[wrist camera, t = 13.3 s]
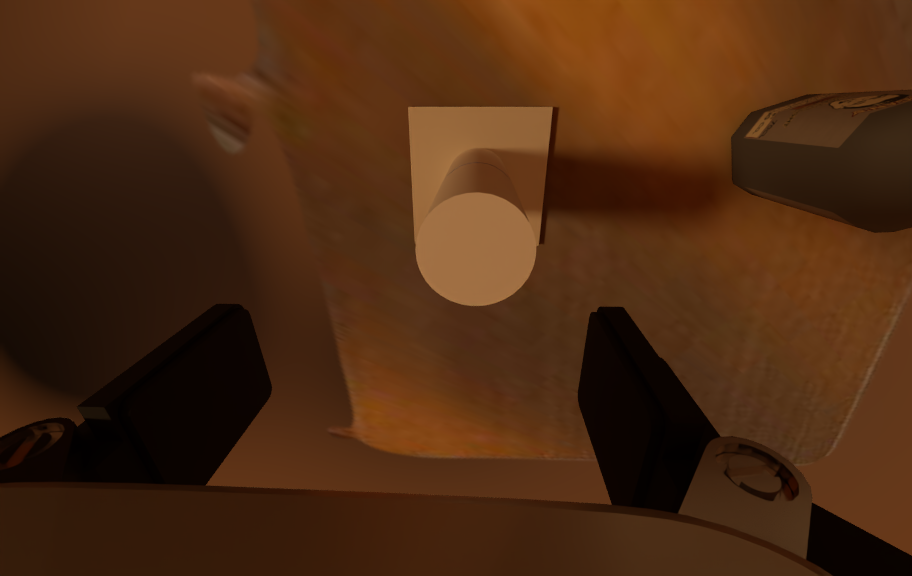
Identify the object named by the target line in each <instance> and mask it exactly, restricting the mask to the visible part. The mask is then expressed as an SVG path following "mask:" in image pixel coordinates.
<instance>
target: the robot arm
mask: <svg viewBox="0 0 912 576" xmlns="http://www.w3.org/2000/svg"><path fill="white" fill-rule="evenodd" d="M271 391H272V386H271V382H270V378H269V375H268V372H267V369H266V365H265V362H264V359H263V355H262V352H261V349H260V346H259V342H258V339H257V336H256V332H255V329H254V326H253V323H252V319H251V316H250V314H249V312H248V311H247V310H246V309H244V308H243V307H242V306H241V305H239V304H216V305H214V306H213V307H211V308H210V309H208V310H207V311H206V312H204V313H203V314H202V315H200V316H199V317H198V318H196V319H195V320H194V321H192V322H191V323H189V324H188V325H187V326H185V327H184V328H183V329H181V330H180V331H179V332H177V333H176V334H175V335H173V336H172V337H170V338H169V339H168V340H166V341H165V342H164V343H162V344H161V345H160V346H158V347H157V348H156V349H154V350H153V351H152V352H150V353H149V354H147V355H146V356H145V357H144V358H142V359H141V360H139V361H138V362H137V363H135V364H134V365H133V366H131V367H130V368H129V369H127V370H126V371H124V372H123V373H122V374H120V375H119V376H118V377H116V378H115V379H114V380H112V381H111V382H110V383H108V384H107V385H105V386H104V387H103V388H101V389H100V390H99V391H97V392H96V393H95V394H93V395H92V396H91V397H89V398H88V399H86V400H85V401H84V402H82V403H81V404H80V405H78V406H77V408H78V409H79V411H80V413H81V414H82V416H83V418H84V419H85V421H84V422H83V423H82V424H80V425H79V426H78V427H77V426H76V424H75V423H74V421H72V420H71V419H69V418H63V417H57V418H48V419H44V420H41V421H37V422H33V423H31V424H28V425H25V426H23V427H20V428H18V429H15V430H14V431H11V432H9V433H8V434H6V435H4V436H2V437H0V576H912V556H911V555H909V554H907V553H906V552H903V551H902V550H900V549H898V548H896V547H894V546H892V545H891V544H889V543H887V542H885V541H883V540H881V539H879V538H878V537H875V536H874V535H872V534H870V533H868V532H866V531H864V530H863V529H861V528H859V527H857V526H855V525H853V524H851V523H849V522H848V521H845V520H844V519H842V518H840V517H838V516H836V515H834V514H833V513H831V512H829V511H827V510H825V509H823V508H821V507H820V506H817V505H816V504H814V503H812V494H811V488H810V485H809V484H808V482H807V480H806V479H805V477H804V475H803V474H802V473H801V472H800V471H799V470H798V469H797V468H796V467H795V466H794V465H793V464H792V463H791V462H790V461H788V460H787V459H786V458H784V457H783V456H781V455H780V454H779V453H777V452H775V451H774V450H772V449H770V448H768V447H766V446H764V445H762V444H759V443H757V442H754V441H751V440H748V439H744V438H739V437H733V436H729V437H720V435H719V434H718V432H717V431H716V430H715V428H714V427H713V426H712V424H711V423H710V422H709V420H708V419H707V417H706V416H705V415H704V413H703V412H702V411H701V409H700V408H699V406H698V405H697V404H696V402H695V401H694V400H693V398H692V397H691V396H690V394H689V393H688V391H687V390H686V389H685V387H684V386H683V385H682V383H681V382H680V381H679V379H678V378H677V376H676V375H675V374H674V372H673V371H672V370H671V368H670V367H669V365H668V364H667V363H666V362H665V361H664V360H663V359H662V358H660V357H659V356H658V355H657V353H656V352H655V351H654V349H653V348H652V346H651V345H650V344H649V342H648V341H647V339H646V338H645V337H644V335H643V334H642V332H641V331H640V330H639V328H638V327H637V326H636V324H635V323H634V321H633V320H632V319H631V317H630V316H629V314H628V313H627V312H626V310H625V309H624V308H623V307H599V308H598V310H597V312H591V314H590V317H589V323H588V330H587V336H586V343H585V349H584V356H583V362H582V369H581V375H580V382H579V389H578V402H579V407H580V410H581V413H582V416H583V419H584V422H585V425H586V428H587V431H588V434H589V437H590V440H591V443H592V446H593V449H594V452H595V455H596V458H597V461H598V464H599V467H600V470H601V473H602V476H603V479H604V482H605V485H606V488H607V491H608V494H609V497H610V500H611V503H612V505H607V504H595V503H579V502H561V501H547V500H531V499H514V498H492V497H491V498H490V497H469V496H449V495H427V494H405V493H382V492H356V491H334V490H310V489H308V490H307V489H284V488H259V487H258V488H257V487H231V486H205V485H206V484H207V483H208V481H209V480H210V478H211V477H212V476H213V474H214V473H215V471H216V470H217V469H218V468H219V466H220V465H221V463H222V462H223V461H224V459H225V458H226V457H227V455H228V454H229V452H230V451H231V450H232V448H233V447H234V446H235V444H236V443H237V441H238V440H239V439H240V437H241V436H242V435H243V433H244V432H245V430H246V429H247V428H248V426H249V425H250V424H251V422H252V421H253V419H254V418H255V417H256V415H257V414H258V413H259V411H260V410H261V409H262V407H263V406H264V405H265V403H266V402H267V400H268V399H269V397H270V395H271Z"/></svg>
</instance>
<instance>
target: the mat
mask: <svg viewBox="0 0 912 576" xmlns="http://www.w3.org/2000/svg"><path fill="white" fill-rule="evenodd" d="M552 110H553V107H408V113H409V133H410V153H411V174H412V194H413V214H414V234H415V243H416V240H417V236H418V233H419V230H420V227H421V225H422V223H423V221H424V219H425V217H426V215H427V213H428V211H429V209H430V207H431V205H432V203H433V201H434V199H435V197H436V194H437V192H438V190H439V188H440V186H441V184H442V182H443V180H444V178H445V176H446V174H447V172H448V170H449V168H450V166H451V164H452V162H453V160H454V159H455V158H456V157H457V156H458V155H459V154H461V153H462V152H464V151H466V150H468V149H472V148H483V149H487V150H490V151H492V152H493V153H495V154H496V155H497V156H498V157H499V158H500V159H501V160H502V162H503V163H504V166H505V168H506V170H507V172H508V175H509V177H510V179H511V181H512V184H513V186H514V188H515V191H516V193H517V195H518V197H519V200H520V202H521V204H522V207H523V209H524V211H525V213H526V216H527V218H528V220H529V223H530V225H531V227H532V230H533V232H534V236H535V241H536V246H539V237H540V228H541V218H542V208H543V198H544V189H545V179H546V169H547V159H548V149H549V140H550V130H551V120H552Z"/></svg>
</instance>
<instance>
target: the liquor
mask: <svg viewBox="0 0 912 576" xmlns="http://www.w3.org/2000/svg"><path fill="white" fill-rule="evenodd" d="M731 145H732V180H733V184H735V185H737V186H738V187H740V188H742V189H743V190H745V191H747V192H748V193H750V194H752V195H755V196H758V197H761V198H765V199H768V200H771V201H774V202H778V203H781V204H784V205H787V206H790V207H794V208H797V209H800V210H803V211H807V212H810V213H813V214H816V215H819V216H823V217H826V218H829V219H832V220H836V221H839V222H842V223H845V224H849V225H852V226H855V227H858V228H861V229H865V230H868V231H871V232H874V233H876V232H895V231H899V230H903V229H907V228H911V227H912V90H897V91H875V92H854V93H833V94H812V95H804V96H801V97H798V98H795V99H792V100H789V101H785V102H782V103H779V104H776V105H773V106H770V107H767V108H763V109H760V110H757V111H754V112H751V113H750V114H749V115H748V117H747V118H746V119H745V120H744V122H743V123H742V124H741V125H740V127H739V128H738V129H737V131H736V132H735V133H734V134H733V136H732V137H731Z"/></svg>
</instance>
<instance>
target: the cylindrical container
mask: <svg viewBox="0 0 912 576" xmlns="http://www.w3.org/2000/svg"><path fill="white" fill-rule="evenodd" d="M416 258H417V263H418V266H419V269H420V272H421V274H422V275H423V277H424V279H425V281H426V282H427V283H428V284H429V285H430V286H431V288H432V289H434V290H435V291H436V292H437V293H438V294H440V295H441V296H443V297H445V298H446V299H448V300H450V301H453V302H456V303H459V304H463V305H470V306H484V305H488V304H493V303H496V302H499V301H501V300H504V299H506V298H507V297H509V296H510V295H512V294H513V293H515V292H516V291H517V290H518V289H519V288H520V287H521V286H522V285H523V284H524V282H525V281H526V280H527V278H528V277H529V275H530V273H531V271H532V269H533V266H534V262H535V258H536V241H535V236H534V232H533V230H532V227H531V225H530V223H529V220H528V218H527V216H526V213H525V211H524V209H523V207H522V204H521V202H520V200H519V197H518V195H517V193H516V191H515V188H514V186H513V184H512V181H511V179H510V177H509V175H508V172H507V170H506V168H505V166H504V163H503V162H502V160H501V159H500V158H499V157H498V156H497V155H496V154H495V153H493V152H492V151H490V150H487V149H483V148H472V149H468V150H466V151H464V152H462V153H461V154H459V155H458V156H457V157H456V158H455V159H454V160H453V162H452V164H451V166H450V168H449V170H448V172H447V174H446V176H445V178H444V180H443V182H442V184H441V186H440V188H439V190H438V192H437V194H436V197H435V199H434V201H433V203H432V205H431V207H430V209H429V211H428V213H427V215H426V217H425V219H424V221H423V223H422V225H421V227H420V230H419V233H418V236H417V240H416Z"/></svg>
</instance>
